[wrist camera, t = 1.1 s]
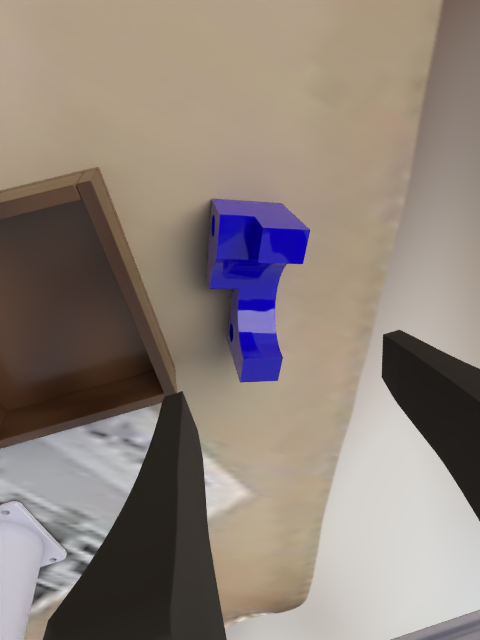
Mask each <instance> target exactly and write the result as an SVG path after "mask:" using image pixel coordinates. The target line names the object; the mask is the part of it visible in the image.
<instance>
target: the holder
mask: <svg viewBox="0 0 480 640" xmlns="http://www.w3.org/2000/svg"><path fill="white" fill-rule="evenodd" d="M175 393H177V385H176V374H175V366H174V363H173V361H172V358H171V355H170V353H169V350H168V348H167V345H166V342H165V340H164V337H163V334H162V332H161V329H160V327H159V324H158V321H157V319H156V316H155V313H154V311H153V308H152V306H151V303H150V300H149V298H148V295H147V292H146V290H145V287H144V285H143V282H142V279H141V277H140V274H139V271H138V269H137V266H136V264H135V261H134V258H133V256H132V253H131V250H130V248H129V245H128V243H127V240H126V237H125V235H124V232H123V229H122V227H121V224H120V221H119V219H118V216H117V214H116V211H115V208H114V206H113V203H112V200H111V198H110V195H109V193H108V190H107V187H106V185H105V182H104V179H103V177H102V174H101V172H100V169H99V167H96V168H92V169H88V170H84V171H80V172H76V173H72V174H67V175H63V176H59V177H55V178H51V179H47V180H43V181H39V182H34V183H30V184H26V185H22V186H18V187H14V188H10V189H6V190H1V191H0V448H5V447H8V446H12V445H15V444H19V443H22V442H26V441H29V440H33V439H36V438H40V437H43V436H47V435H50V434H54V433H57V432H61V431H64V430H68V429H71V428H75V427H78V426H82V425H85V424H89V423H92V422H96V421H99V420H103V419H106V418H110V417H113V416H117V415H120V414H124V413H127V412H131V411H134V410H138V409H141V408H145V407H148V406H152V405H155V404H159V403H162V401H163V399H164V397H165V396H168V395H172V394H175Z"/></svg>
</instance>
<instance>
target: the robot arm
mask: <svg viewBox="0 0 480 640" xmlns="http://www.w3.org/2000/svg"><path fill="white" fill-rule="evenodd" d="M382 378H383V380H384V382H385V384H386V385H387V387H388V389H389V391H390V392H391V394H392V396H393V397H394V399H395V400H396V402H397V403H398V405H399V406H400V407H401V409H402V410H403V411H404V412H405V414H406V415H407V416H408V418H409V419H410V420H411V421H412V423H413V424H414V425H415V426H416V428H417V429H418V430H419V432H420V433H421V434H422V435H423V437H424V438H425V439H426V440H427V442H428V443H429V444H430V446H431V447H432V448H433V449H434V450H435V452H436V453H437V455H438V456H439V457H440V459H441V460H442V461H443V463H444V464H445V466H446V467H447V469H448V470H449V472H450V474H451V475H452V477H453V478H454V480H455V481H456V483H457V484H458V486H459V488H460V489H461V490H462V492H463V494H464V496H465V497H466V499H467V501H468V502H469V504H470V506H471V507H472V509H473V511H474V512H475V514H476V516H477V517H478V519H479V521H480V369H479V368H476V367H474V366H471V365H469V364H467V363H465V362H463V361H461V360H458V359H457V358H455V357H452V356H450V355H448V354H446V353H444V352H442V351H440V350H438V349H436V348H434V347H432V346H430V345H429V344H427V343H425V342H423V341H421V340H419V339H417V338H415V337H413V336H411V335H409V334H407V333H405V332H403V331H401V330H397V331H394V332H390V333H387V334H384V335H383V356H382ZM66 555H67V552H66V551H65V549H64V548H63V547H62V546H61V545H60V544H59V543H58V542H57V541H56V540H55V539H54V538H53V537H52V536H51V535H50V534H49V533H48V531H47V530H46V529H45V528H44V527H43V526H42V525H41V524H40V523H39V522H38V521H37V520H36V519H35V518H34V517H33V516H32V514H31V513H30V512H29V511H28V510H27V509H26V508H25V507H24V506H23V505H22V504H21V503H20V502H17V501H12V502H8V503H5V504H1V505H0V640H24V637H25V632H26V628H27V623H28V619H29V614H30V610H31V605H32V601H33V596H34V592H35V587H36V583H37V578H38V574H39V569H40V567H42V566H45V565H49V564H52V563H55V562H59V561H62V560H64V559H65V558H66ZM43 640H226V634H225V628H224V623H223V617H222V612H221V606H220V601H219V595H218V589H217V583H216V577H215V571H214V566H213V559H212V553H211V547H210V541H209V533H208V524H207V511H206V496H205V482H204V468H203V457H202V451H201V446H200V440H199V435H198V430H197V428H196V425H195V422H194V420H193V417H192V415H191V412H190V409H189V407H188V404H187V402H186V399H185V396H184V394H183V391H182V392H179V393H175V394H172V395H168V396H165V397H164V399H163V401H162V406H161V410H160V414H159V418H158V421H157V424H156V428H155V431H154V434H153V437H152V440H151V443H150V446H149V449H148V452H147V454H146V457H145V459H144V462H143V464H142V467H141V469H140V472H139V474H138V477H137V479H136V481H135V483H134V486H133V488H132V490H131V492H130V494H129V496H128V498H127V500H126V502H125V504H124V506H123V508H122V510H121V512H120V514H119V516H118V517H117V519H116V521H115V523H114V525H113V526H112V528H111V530H110V532H109V533H108V535H107V537H106V538H105V540H104V542H103V543H102V545H101V546H100V548H99V550H98V551H97V553H96V554H95V556H94V557H93V559H92V560H91V562H90V563H89V565H88V566H87V568H86V570H85V571H84V573H83V574H82V576H81V577H80V578H79V580H78V581H77V583H76V584H75V585H74V587H73V588H72V589H71V591H70V592H69V593H68V595H67V596H66V598H65V599H64V600H63V602H62V603H61V604H60V606H59V607H58V608H57V610H56V611H55V612H54V614H53V615H52V616H51V618H50V619H49V620H48V623H47V627H46V631H45V634H44V637H43ZM391 640H480V610H478V611H475V612H472V613H469V614H466V615H463V616H460V617H457V618H454V619H451V620H448V621H445V622H442V623H439V624H436V625H433V626H430V627H427V628H424V629H422V630H418V631H415V632H413V633H409V634H406V635H403V636H401V637H397V638H394V639H391Z"/></svg>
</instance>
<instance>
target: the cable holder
mask: <svg viewBox="0 0 480 640" xmlns="http://www.w3.org/2000/svg"><path fill="white" fill-rule="evenodd" d="M309 233H310V229H309V228H307V227H306V226H305V225H304V224H303V223H302V222H301V221H300V220H299V219H298V218H297V217H296V216H295V215H294V214H292V213H291V212H290V211H289V210H288V209H287V208H286V207H285V206H284V205H283V204H281V203H266V202H251V201H236V200H221V199H212V204H211V217H210V230H209V244H208V257H207V270H206V277H207V280H208V284H209V287H210V289H232V296H231V305H230V313H229V322H228V330H227V341H228V344H229V347H230V351H231V354H232V357H233V360H234V364H235V367H236V370H237V374H238V377H239V380H240V382H259V381H278V377H279V373H280V368H281V363H282V359H283V357H282V354H281V352H280V349H279V345H278V341H277V335H276V328H275V300H276V292H277V287H278V282H279V279H280V276H281V273H282V271H283V269H284V267H285V266H286V264H303V261H304V256H305V252H306V247H307V242H308V238H309Z"/></svg>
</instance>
